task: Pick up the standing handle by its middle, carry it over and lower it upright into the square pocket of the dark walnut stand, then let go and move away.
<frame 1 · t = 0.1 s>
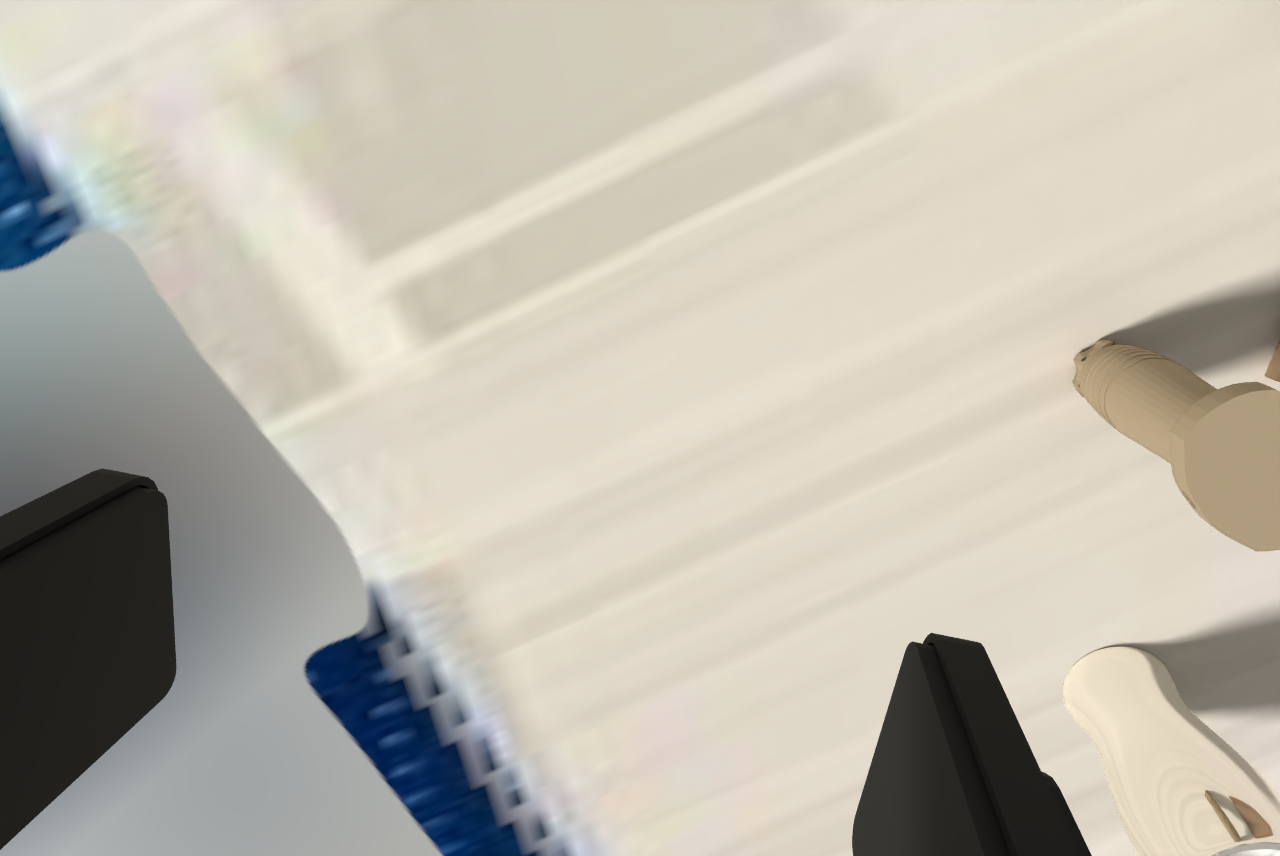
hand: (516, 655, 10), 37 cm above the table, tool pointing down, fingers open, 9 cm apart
beer glass: (1113, 686, 50), on the table
handle: (1099, 367, 44), on the table
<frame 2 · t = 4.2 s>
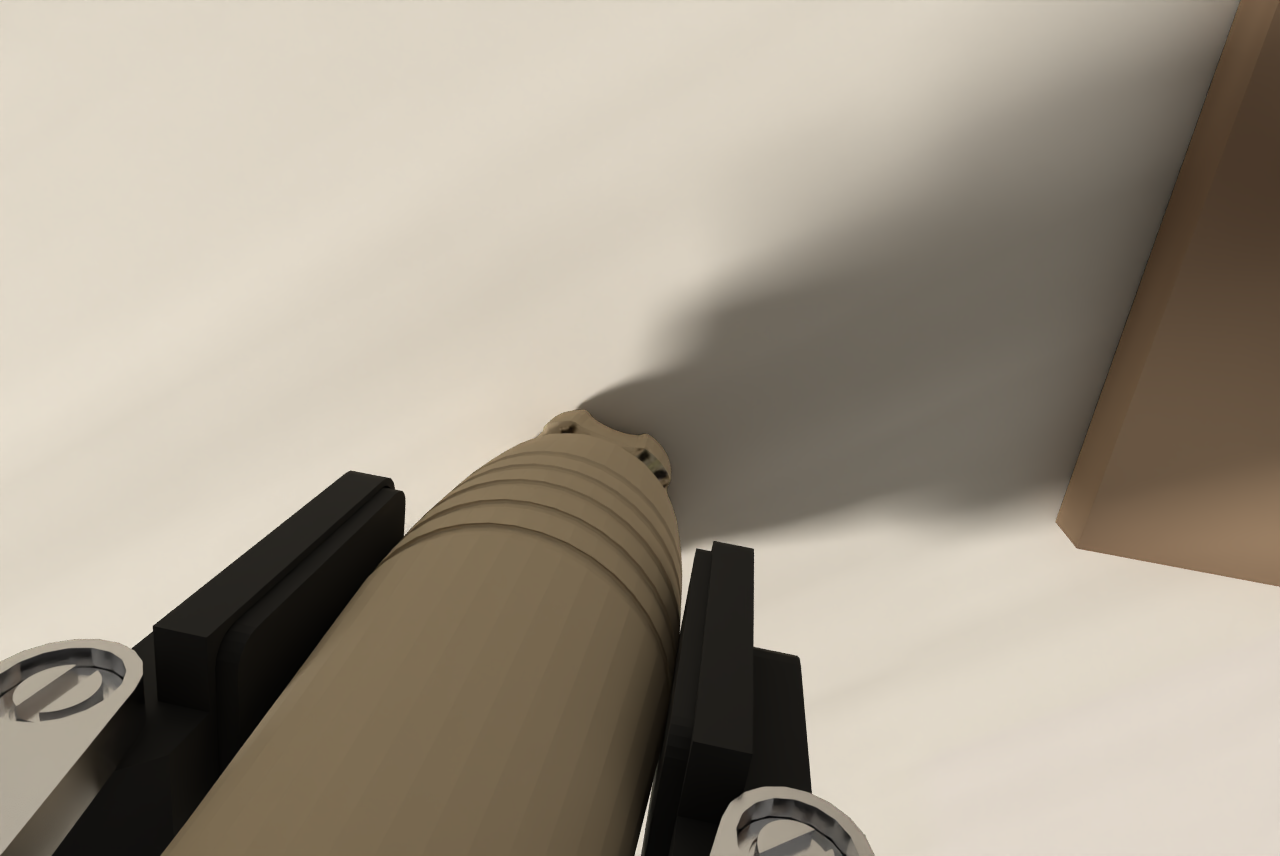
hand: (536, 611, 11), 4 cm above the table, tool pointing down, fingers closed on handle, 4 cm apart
handle: (597, 483, 15), on the table, touching gripper
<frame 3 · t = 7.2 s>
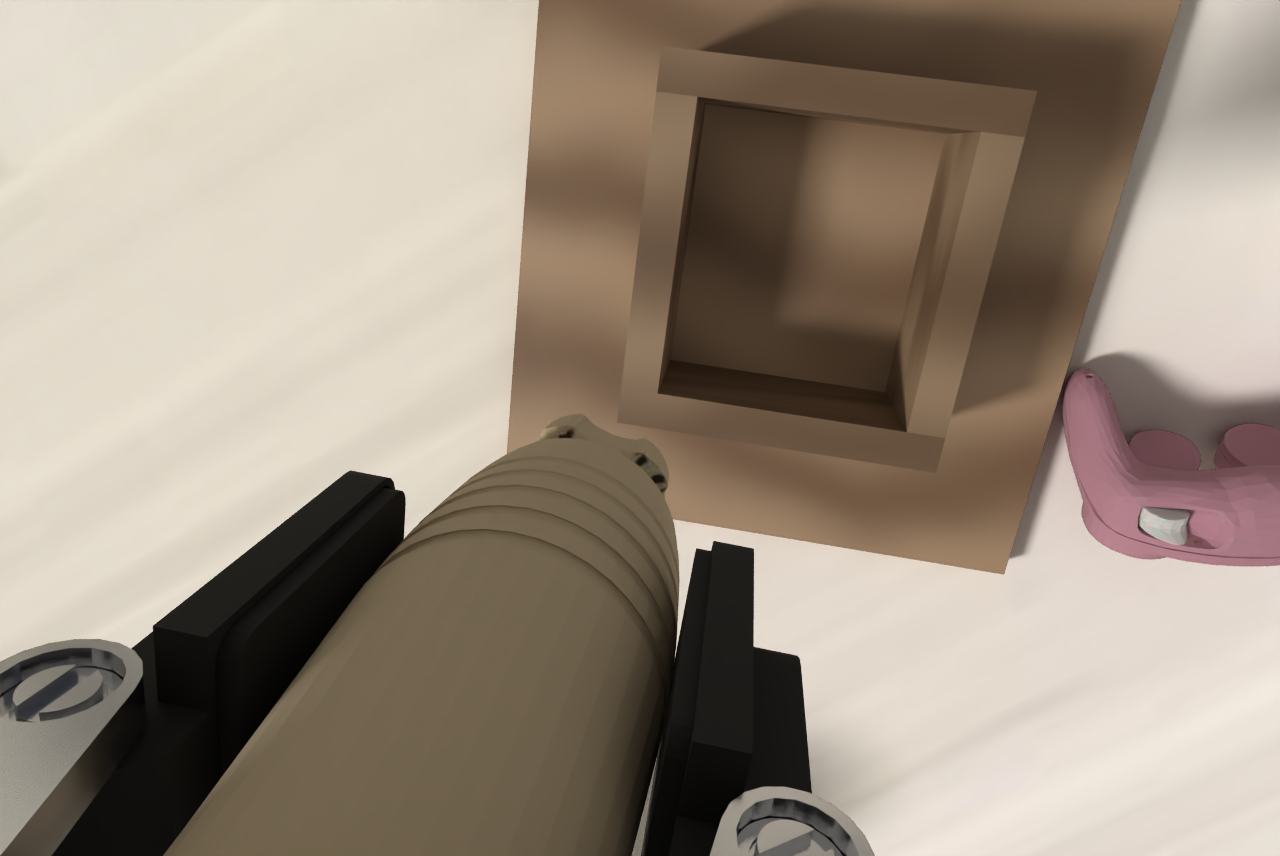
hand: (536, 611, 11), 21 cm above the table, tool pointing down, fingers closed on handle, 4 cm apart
handle: (595, 487, 15), point 17 cm above the table, touching gripper
holder: (797, 250, 30), on the table
video game controller: (1189, 428, 30), on the table
when the fingers open (7 cm above the table, at t = 10.6 s): handle drops 2 cm, resting on holder.
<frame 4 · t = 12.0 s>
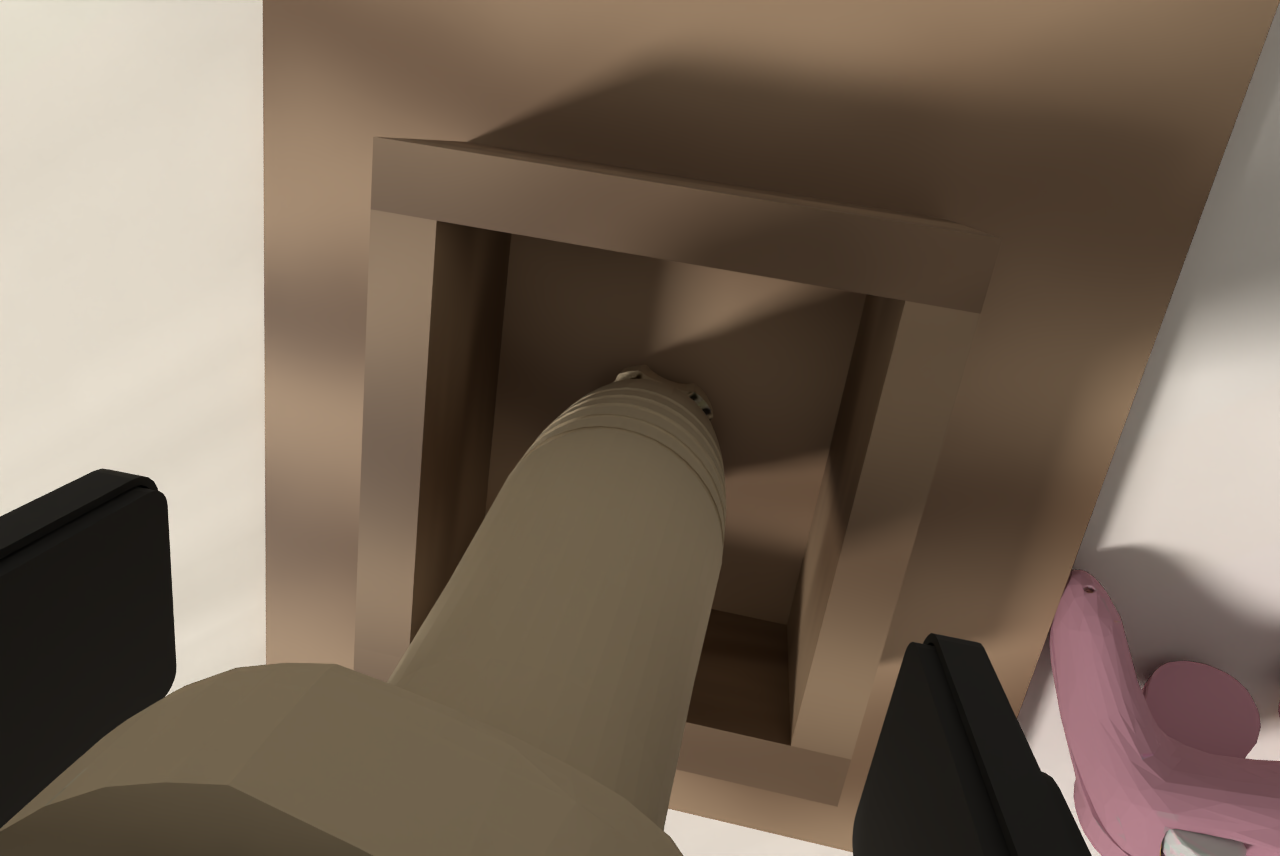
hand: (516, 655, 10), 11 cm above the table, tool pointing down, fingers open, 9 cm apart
handle: (652, 424, 20), point 1 cm above the table, touching holder
holder: (663, 415, 20), on the table
video game controller: (1240, 655, 20), on the table
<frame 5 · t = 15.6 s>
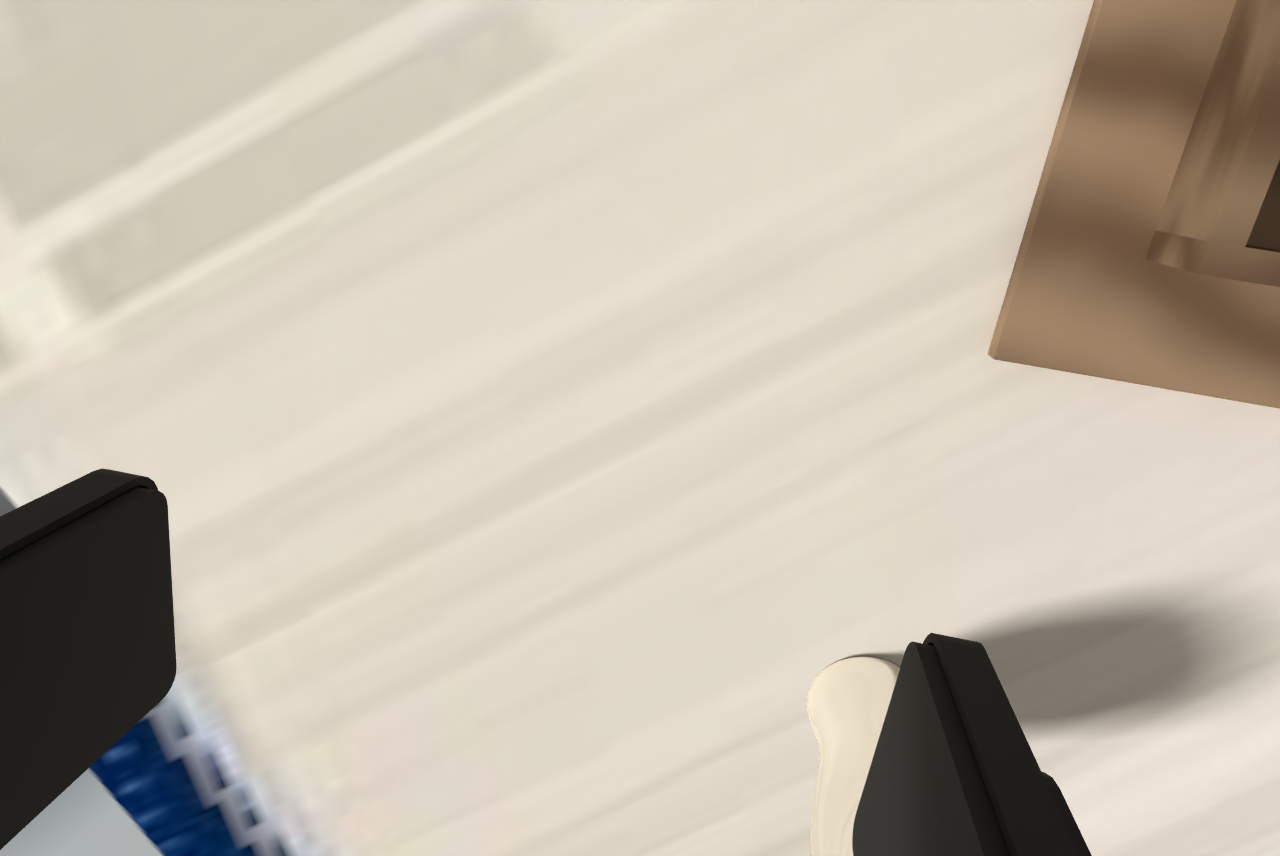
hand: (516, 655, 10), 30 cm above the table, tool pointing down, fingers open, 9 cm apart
beer glass: (862, 700, 45), on the table
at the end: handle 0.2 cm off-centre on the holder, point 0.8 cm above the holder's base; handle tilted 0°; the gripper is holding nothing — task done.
